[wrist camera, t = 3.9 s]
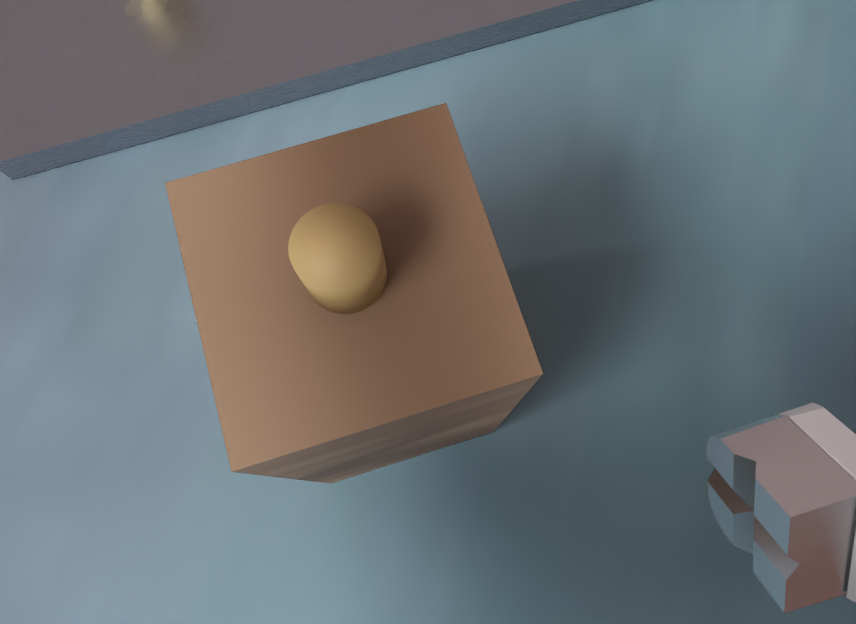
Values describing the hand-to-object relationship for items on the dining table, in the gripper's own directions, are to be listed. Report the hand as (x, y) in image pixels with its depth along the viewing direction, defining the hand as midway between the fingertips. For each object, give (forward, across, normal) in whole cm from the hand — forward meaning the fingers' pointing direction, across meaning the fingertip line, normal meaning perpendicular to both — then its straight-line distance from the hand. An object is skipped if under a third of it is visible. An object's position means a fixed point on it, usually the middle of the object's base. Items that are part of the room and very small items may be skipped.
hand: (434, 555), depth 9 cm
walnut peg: (+9, 0, +3) cm, 10 cm away
